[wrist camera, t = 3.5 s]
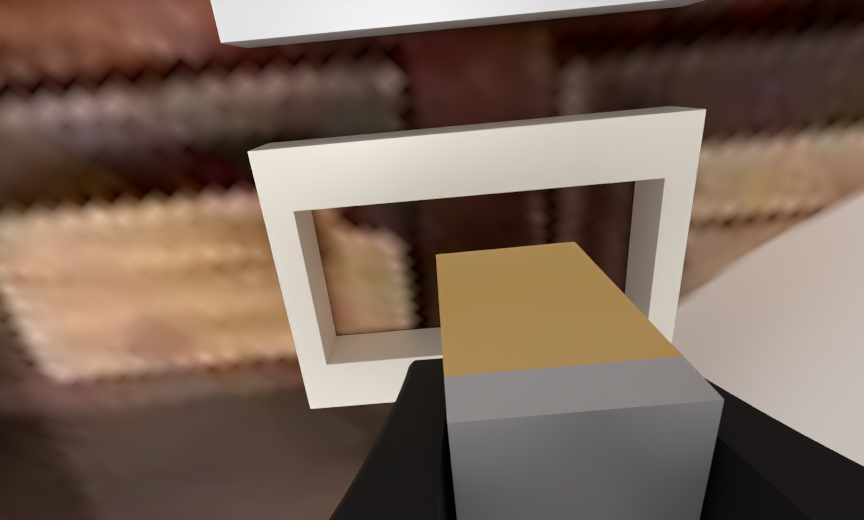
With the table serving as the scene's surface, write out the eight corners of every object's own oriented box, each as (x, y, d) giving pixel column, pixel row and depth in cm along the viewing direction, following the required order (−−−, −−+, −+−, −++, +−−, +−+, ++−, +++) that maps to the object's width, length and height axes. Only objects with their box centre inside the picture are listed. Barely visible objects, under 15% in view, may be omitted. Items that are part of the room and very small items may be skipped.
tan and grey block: (574, 241, 9) (724, 399, 5) (568, 407, 11) (673, 642, 6) (435, 254, 9) (446, 423, 5) (451, 417, 11) (470, 658, 6)
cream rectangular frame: (670, 106, 15) (706, 109, 13) (642, 350, 19) (666, 379, 17) (269, 143, 15) (247, 151, 13) (321, 376, 19) (310, 408, 17)
